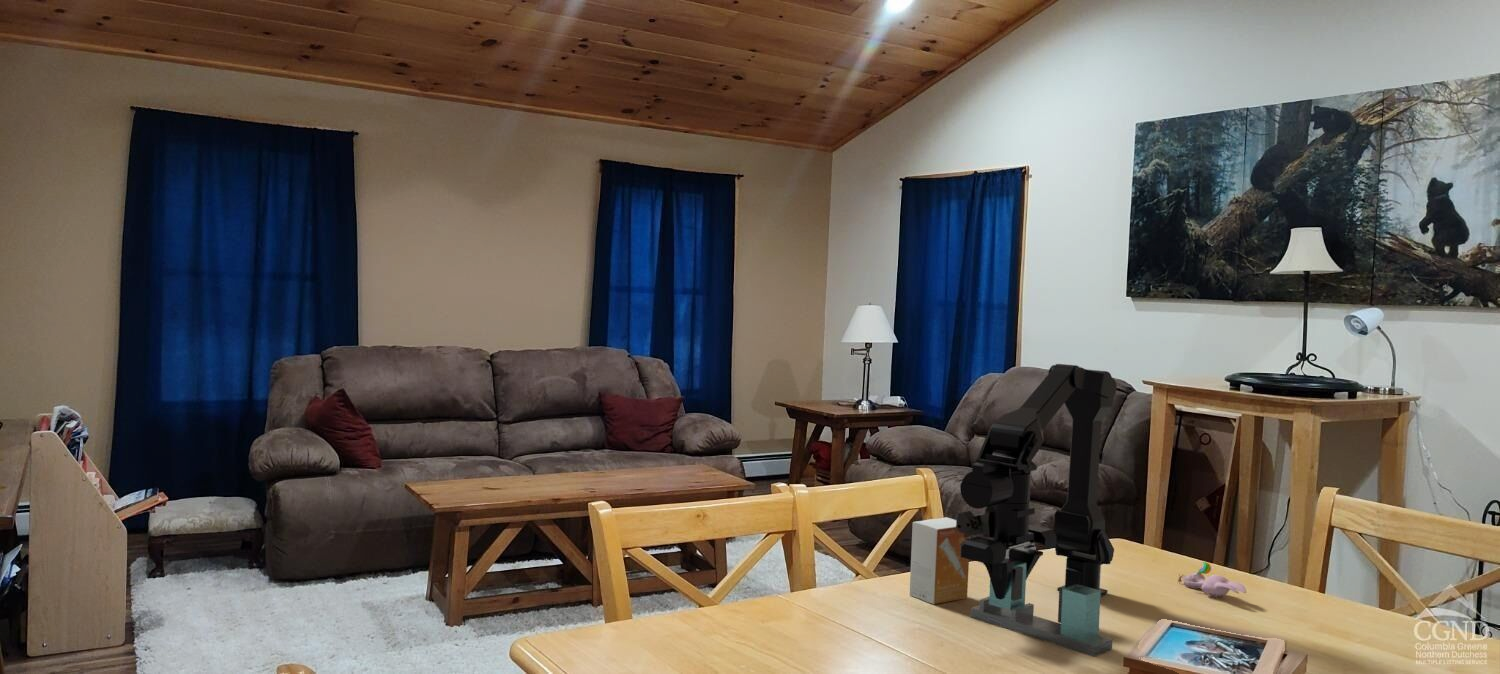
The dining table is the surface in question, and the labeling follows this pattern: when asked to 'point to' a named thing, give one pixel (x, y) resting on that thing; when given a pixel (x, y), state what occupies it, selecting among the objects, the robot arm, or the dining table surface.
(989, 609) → the rail
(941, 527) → the small box
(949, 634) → the dining table surface
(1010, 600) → the block
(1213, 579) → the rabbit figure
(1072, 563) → the robot arm
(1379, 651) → the dining table surface
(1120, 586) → the dining table surface
